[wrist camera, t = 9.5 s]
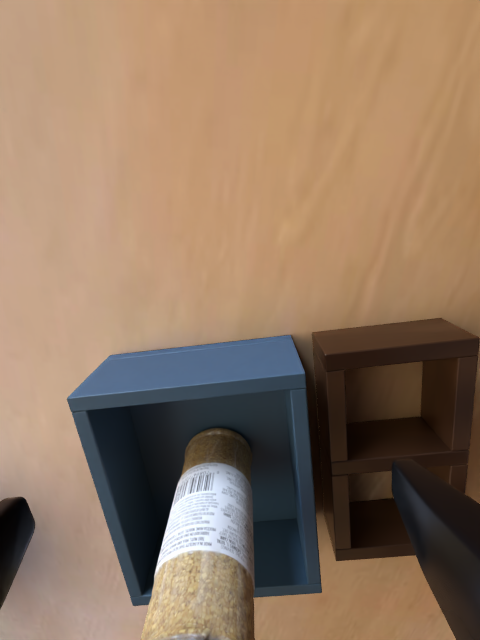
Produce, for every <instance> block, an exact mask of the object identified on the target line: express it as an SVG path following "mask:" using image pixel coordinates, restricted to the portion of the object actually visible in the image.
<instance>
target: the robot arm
mask: <svg viewBox="0 0 480 640" xmlns="http://www.w3.org/2000/svg"><path fill="white" fill-rule="evenodd" d="M392 493H393V497H394V500H395V503H396V505H397V508H398V510H399V513H400V516H401V518H402V521H403V523H404V526H405V528H406V531H407V534H408V536H409V539H410V541H411V544H412V546H413V549H414V551H415V554H416V557H417V559H418V562H419V564H420V566H421V569H422V571H423V573H424V576H425V578H426V580H427V582H428V584H429V586H430V588H431V590H432V592H433V594H434V596H435V598H436V600H437V602H438V604H439V606H440V608H441V610H442V612H443V614H444V616H445V618H446V620H447V622H448V624H449V626H450V628H451V630H452V632H453V634H454V636H455V638H456V640H480V504H479V503H477V502H476V501H474V500H473V499H471V498H470V497H468V496H467V495H465V494H464V493H462V492H461V491H459V490H458V489H456V488H455V487H453V486H452V485H450V484H449V483H447V482H446V481H444V480H443V479H441V478H440V477H438V476H437V475H435V474H433V473H432V472H430V471H429V470H427V469H426V468H424V467H423V466H421V465H420V464H418V463H417V462H415V461H414V460H412V459H401V460H395V461H393V463H392ZM34 529H35V521H34V518H33V516H32V513H31V511H30V508H29V506H28V503H27V501H26V499H24V498H23V497H12V498H6V499H4V500H2V501H0V609H1V607H2V605H3V603H4V601H5V598H6V596H7V594H8V592H9V589H10V587H11V585H12V582H13V580H14V578H15V575H16V573H17V571H18V568H19V566H20V564H21V561H22V559H23V556H24V554H25V552H26V549H27V547H28V545H29V542H30V540H31V538H32V535H33V533H34Z"/></svg>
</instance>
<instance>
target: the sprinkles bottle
mask: <svg viewBox="0 0 480 640" xmlns="http://www.w3.org/2000/svg"><path fill="white" fill-rule="evenodd" d="M251 463H252V452H251V449H250V446H249V445H248V443H247V441H246V440H245V439H244V438H243V437H242V436H241V435H240V434H238V433H236V432H234V431H231V430H228V429H223V428H211V429H207V430H205V431H202V432H200V433H198V434H197V435H196V436H194V437H193V438H192V439H191V440H190V442H189V444H188V446H187V447H186V450H185V462H184V466H183V471H182V475H181V478H180V480H179V482H178V485H177V488H176V492H175V496H174V500H173V504H172V508H171V511H170V515H169V519H168V523H167V527H166V531H165V535H164V539H163V543H162V547H161V551H160V554H159V558H158V563H157V567H156V571H155V575H154V586H153V590H152V597H151V600H150V603H149V607H148V612H147V616H146V619H145V625H144V628H143V632H142V637H141V640H255V638H254V600H253V597H254V590H255V580H254V543H253V501H252V489H251Z"/></svg>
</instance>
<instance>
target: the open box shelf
mask: <svg viewBox="0 0 480 640" xmlns="http://www.w3.org/2000/svg"><path fill="white" fill-rule="evenodd" d="M67 401H68V404H69V407H70V410H71V412H72V415H73V418H74V421H75V425H76V428H77V431H78V434H79V437H80V440H81V443H82V447H83V450H84V453H85V456H86V459H87V462H88V465H89V469H90V472H91V475H92V478H93V481H94V484H95V487H96V490H97V494H98V497H99V500H100V503H101V506H102V509H103V512H104V516H105V519H106V522H107V525H108V528H109V531H110V534H111V537H112V541H113V544H114V547H115V550H116V553H117V556H118V559H119V563H120V566H121V569H122V572H123V575H124V578H125V581H126V584H127V588H128V591H129V594H130V596H131V597H130V598H131V601H132V604H133V606H139V605H149V603H150V600H151V597H152V590H153V586H154V575H155V571H156V567H157V563H158V558H159V554H160V551H161V547H162V543H163V539H164V535H165V531H166V527H167V523H168V519H169V515H170V511H171V508H172V504H173V500H174V496H175V492H176V488H177V485H178V482H179V480H180V478H181V475H182V471H183V466H184V462H185V450H186V447H187V446H188V444H189V442H190V440H191V439H192V438H193V437H194V436H196V435H197V434H198V433H200V432H202V431H205V430H207V429H211V428H223V429H228V430H231V431H234V432H236V433H238V434H240V435H241V436H242V437H243V438H244V439H245V440H246V441H247V443H248V445H249V446H250V449H251V452H252V463H251V489H252V501H253V543H254V580H255V590H254V597H269V596H283V595H298V594H312V593H322V588H321V575H320V562H319V549H318V535H317V522H316V509H315V496H314V482H313V469H312V456H311V443H310V429H309V416H308V403H307V390H306V375H305V371H304V369H303V366H302V363H301V361H300V358H299V355H298V353H297V350H296V348H295V345H294V342H293V340H292V337H291V335H286V336H277V337H269V338H260V339H251V340H242V341H233V342H224V343H215V344H206V345H198V346H189V347H180V348H171V349H162V350H153V351H144V352H135V353H126V354H118V355H110V356H109V357H108V358H107V359H106V360H105V361H104V362H103V363H102V364H101V365H100V366H99V367H98V368H97V369H96V370H95V371H94V372H93V373H92V374H91V375H90V376H89V377H88V378H87V379H86V380H85V381H84V382H83V383H82V384H81V385H80V386H79V387H78V388H77V389H76V390H75V391H74V392H73V393H72V394H71V395H70V396H69V397H68V398H67ZM254 597H253V598H254Z"/></svg>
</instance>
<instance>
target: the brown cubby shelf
mask: <svg viewBox="0 0 480 640" xmlns="http://www.w3.org/2000/svg"><path fill="white" fill-rule="evenodd" d="M312 340H313V347H314V348H313V355H314V370H315V385H316V400H317V416H318V427H319V428H318V430H319V446H320V461H321V476H322V491H323V507H324V517H325V520H326V524H327V528H328V532H329V536H330V540H331V543H332V547H333V551H334V555H335V559H336V561H344V560H358V559H371V558H385V557H398V556H412V555H416V554H415V551H414V549H413V546H412V544H411V541H410V539H409V536H408V534H407V531H406V528H405V526H404V523H403V521H402V518H401V516H400V513H399V510H398V508H397V505H396V503H395V500H394V499H385V500H374V501H362V502H350V503H349V480H348V474H358V473H369V472H380V471H392V463H393V461H395V460H401V459H412V460H414V461H415V462H417V463H418V464H420V465H421V466H423V467H424V468H426V469H427V470H429V471H430V472H432V473H433V474H435V475H437V476H438V477H440V478H441V479H443V480H444V481H446V482H447V483H449V484H450V485H452V486H453V487H455V488H456V489H458V490H459V491H461V492H462V493H464V494H465V487H466V476H467V463H468V455H469V450H468V449H469V447H470V436H471V425H472V415H473V404H474V393H475V383H476V372H477V361H478V356H477V355H478V350H479V337H477V336H475V335H473V334H471V333H469V332H467V331H465V330H463V329H461V328H459V327H457V326H455V325H453V324H451V323H449V322H447V321H446V320H444V319H442V318H437V319H428V320H419V321H410V322H401V323H392V324H383V325H375V326H366V327H357V328H348V329H339V330H330V331H321V332H313V333H312ZM420 361H423V372H422V397H421V417H411V418H401V419H391V420H380V421H370V422H360V423H349V424H346V398H345V371H344V369H353V368H363V367H372V366H382V365H391V364H401V363H410V362H420Z"/></svg>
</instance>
